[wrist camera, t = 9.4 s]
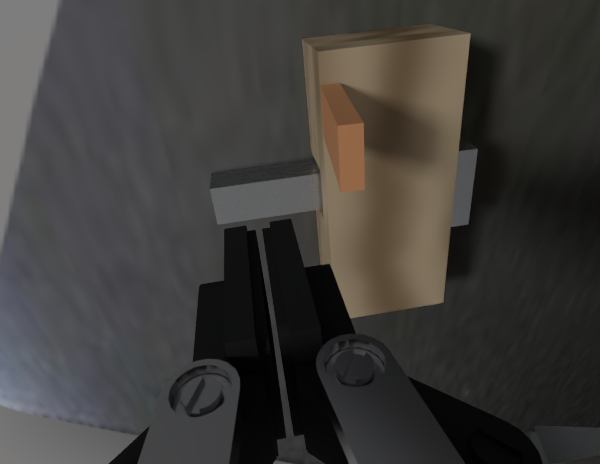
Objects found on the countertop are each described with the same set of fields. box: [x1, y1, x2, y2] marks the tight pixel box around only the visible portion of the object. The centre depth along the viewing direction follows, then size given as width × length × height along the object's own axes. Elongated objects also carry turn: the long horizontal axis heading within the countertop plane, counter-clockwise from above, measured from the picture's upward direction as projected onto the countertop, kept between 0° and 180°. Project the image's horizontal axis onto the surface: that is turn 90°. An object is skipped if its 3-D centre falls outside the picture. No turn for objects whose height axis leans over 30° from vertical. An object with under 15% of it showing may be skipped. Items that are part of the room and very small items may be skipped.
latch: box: [320, 83, 365, 192], centre depth 20 cm, size 7×3×1 cm
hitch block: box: [302, 24, 471, 318], centre depth 29 cm, size 8×18×5 cm, turn 5°
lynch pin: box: [210, 137, 478, 227], centre depth 29 cm, size 16×5×5 cm, turn 95°
